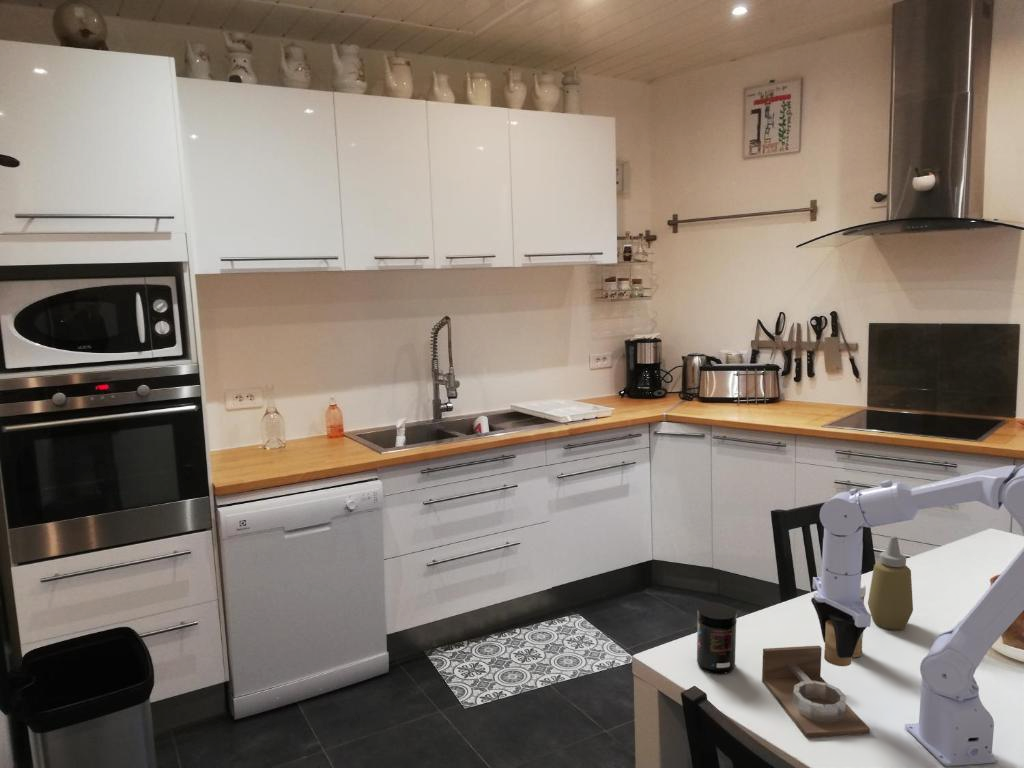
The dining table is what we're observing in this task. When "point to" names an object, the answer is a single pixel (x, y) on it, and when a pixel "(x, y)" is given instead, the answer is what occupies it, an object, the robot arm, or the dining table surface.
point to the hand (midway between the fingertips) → (837, 649)
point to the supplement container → (716, 637)
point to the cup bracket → (808, 693)
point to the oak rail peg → (833, 647)
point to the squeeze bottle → (891, 589)
